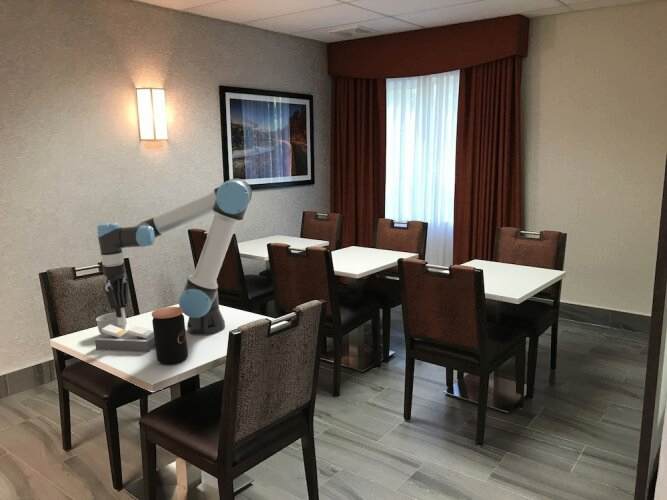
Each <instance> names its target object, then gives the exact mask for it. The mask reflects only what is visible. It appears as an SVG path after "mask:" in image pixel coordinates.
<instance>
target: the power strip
mask: <svg viewBox="0 0 667 500" xmlns="http://www.w3.org/2000/svg"><path fill="white" fill-rule="evenodd" d="M94 343H95V344H94V345H95V350H96V351H112V352H113V351H114V352H115V351H117V352H118V351H119V352H137V353H138V352H139V353H141V352H142V353H149V352H151V351H152V350H154V349H156V348H155V340H154V334H153V335H151V336H150V337H148V338H143V337H140V336H136V335H133V334H129V333H128V334H126V335H125V336H123V337H122V338H118V337H115V336H112V335H110V334H107V333H106V334H104V335H101V336H99V337H97V338H96V339H94Z"/></svg>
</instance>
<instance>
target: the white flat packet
mask: <svg viewBox="0 0 667 500" xmlns="http://www.w3.org/2000/svg"><path fill="white" fill-rule="evenodd" d="M127 331H128V333H129V334H133V335H136V336H140V337H143V338H148V337H150V336H151V335H153V334H154V331H153V330H152V329H150V328H149V329H148V328H144V327H141V326H138V325H133V326H132V327H130V328H128V329H127Z"/></svg>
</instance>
